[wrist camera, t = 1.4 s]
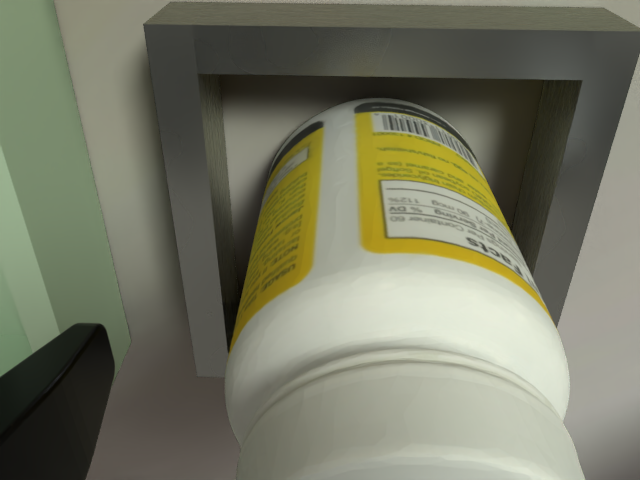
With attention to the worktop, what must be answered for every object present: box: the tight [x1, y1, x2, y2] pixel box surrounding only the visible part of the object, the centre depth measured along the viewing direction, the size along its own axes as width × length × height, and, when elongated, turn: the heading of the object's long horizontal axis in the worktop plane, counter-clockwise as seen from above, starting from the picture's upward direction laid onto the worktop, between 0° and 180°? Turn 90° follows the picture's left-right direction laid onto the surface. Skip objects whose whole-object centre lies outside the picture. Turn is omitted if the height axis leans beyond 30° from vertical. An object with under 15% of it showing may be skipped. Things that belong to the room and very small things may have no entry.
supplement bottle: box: [225, 98, 585, 480], centre depth 10 cm, size 5×5×8 cm
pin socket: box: [143, 2, 640, 378], centre depth 12 cm, size 8×8×2 cm
